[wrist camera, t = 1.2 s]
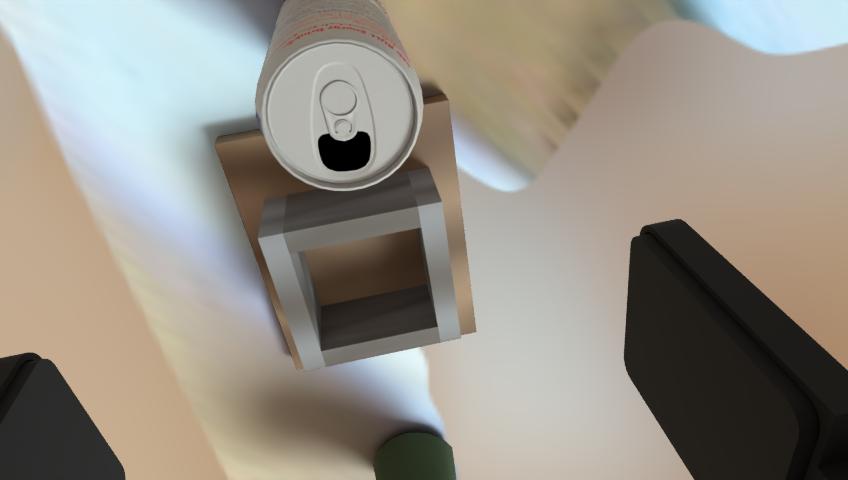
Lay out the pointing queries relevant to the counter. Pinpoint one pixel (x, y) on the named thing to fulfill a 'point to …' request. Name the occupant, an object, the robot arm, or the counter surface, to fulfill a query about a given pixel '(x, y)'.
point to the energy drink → (338, 94)
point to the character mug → (415, 458)
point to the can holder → (359, 249)
